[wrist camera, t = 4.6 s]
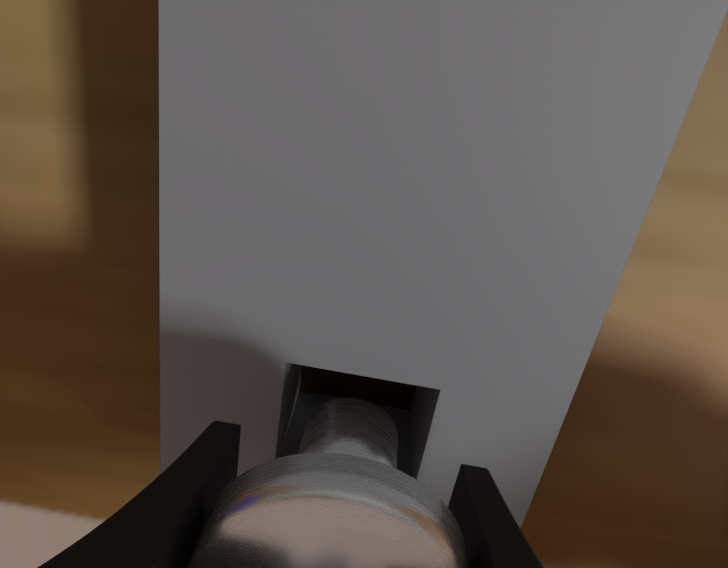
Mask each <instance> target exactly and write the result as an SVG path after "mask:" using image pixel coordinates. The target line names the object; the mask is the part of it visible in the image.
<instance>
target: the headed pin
mask: <svg viewBox="0 0 728 568" xmlns="http://www.w3.org/2000/svg"><path fill="white" fill-rule="evenodd" d="M397 443H398V435H397V429H396V426H395V424H394V422H393V420H392V418H391V417H390V416H389V415H388V414H387V413H386V412H385V411H384V410H383V409H382V408H380V407H379V406H377V405H375V404H374V403H371V402H369V401H366V400H363V399H358V398H338V399H334V400H330V401H328V402H325V403H323V404H322V405H320V406H319V407H317V408H316V409H315V410H314V411H313V412H312V413H311V415H310V416H309V418H308V420H307V423H306V426H305V430H304V433H303V437H302V441H301V445H300V449H299V452H298V454H295V455H289V456H284V457H280V458H276V459H273V460H270V461H267V462H264V463H262V464H259V465H257V466H255V467H253V468H251V469H249V470H247V471H245V472H244V473H242V474H241V475H240V476H238V477H237V478H235V479H234V480H233V481H232V482H231V483H230V484H228V485H227V486H226V487H225V488H224V489H223V491H222V492H221V493H220V495H219V496H218V497H217V499H216V500H215V502H214V504H213V506H212V508H211V510H210V513H209V515H208V518H207V520H206V522H205V525H204V527H203V530H202V532H201V534H200V537H199V539H198V542H197V544H196V546H195V549H194V551H193V554H192V556H191V559H190V561H189V563H188V566H187V568H467V561H466V551H465V545H464V540H463V535H462V533H461V530H460V528H459V525H458V523H457V521H456V519H455V518H454V516H453V514H452V513H451V511H450V510H449V509H448V507H447V506H446V505H445V504H444V503H443V501H442V500H441V499H440V498H439V497H438V496H437V495H436V494H434V493H433V492H432V491H431V490H430V489H429V488H428V487H426V486H425V485H423V484H422V483H421V482H419V481H418V480H416V479H415V478H413V477H411V476H409V475H408V474H406V473H404V472H402V471H400V470H398V469H397Z"/></svg>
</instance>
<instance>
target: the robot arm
mask: <svg viewBox="0 0 728 568" xmlns="http://www.w3.org/2000/svg"><path fill="white" fill-rule="evenodd" d="M240 432H241V425H238V424H233V423H227V422H221V421H216V420H215V421H214V422H212V423H211V424H210V425H209V426H208V427H207V428H206V429H205V430H204V431H203V432H202V433H201V434H200V436H199V437H198V438H197V439H196V440H195V441H194V442H193V443H192V444H191V445H190V446H189V447H188V448H187V449H186V450H185V451H184V452H183V453H182V454H181V455H180V456H179V457H178V458H177V459H176V460H175V461H174V462H173V463H172V464H171V465H170V466H169V467H168V468H166V469H165V470H164V471H163V472H162V473H161V474H160V475H159V476H158V477H157V478H156V479H155V480H154V481H153V482H151V483H150V484H149V485H148V486H147V487H146V488H145V489H143V490H142V491H141V492H140V493H139V494H138V495H136V496H135V497H134V498H133V499H132V500H130V501H129V502H128V503H127V504H126V505H124V506H123V507H122V508H121V509H120V510H118V511H117V512H116V513H115V514H113V515H112V516H111V517H110V518H108V519H107V520H106V521H104V522H103V523H102V524H100V525H99V526H98V527H96V528H95V529H94V530H92V531H91V532H90V533H88V534H87V535H85V536H84V537H83V538H81V539H80V540H78V541H77V542H76V543H74V544H73V545H71V546H70V547H68V548H67V549H65V550H64V551H62V552H61V553H59V554H58V555H56V556H55V557H53V558H52V559H50V560H49V561H47V562H46V563H44V564H42V565H41V566H39V567H38V568H187V566H188V563H189V561H190V559H191V556H192V554H193V551H194V549H195V546H196V544H197V542H198V539H199V537H200V534H201V532H202V530H203V527H204V525H205V522H206V520H207V518H208V515H209V513H210V510H211V508H212V506H213V504H214V502H215V500H216V499H217V497H218V496H219V495H220V493H221V492H222V491H223V489H224V488H225V487H226V486H227V485H228V484H230V483H231V482H232V481H233V480H234V479H235V478H237V471H238V458H239V445H240ZM448 509H449V510H450V511H451V513H452V514H453V516H454V518H455V519H456V521H457V523H458V525H459V528H460V530H461V533H462V535H463V540H464V545H465V551H466V561H467V568H544V567H543V566H542V564H541V563H540V561H539V560H538V558H537V556H536V555H535V553H534V551H533V550H532V548H531V546H530V545H529V543H528V541H527V540H526V538H525V536H524V535H523V533H522V531H521V529H520V528H519V526H518V524H517V522H516V521H515V519H514V517H513V515H512V513H511V512H510V510H509V508H508V506H507V504H506V502H505V500H504V499H503V497H502V495H501V493H500V491H499V489H498V487H497V485H496V483H495V481H494V479H493V477H492V475H491V473H490V472H489V470H488V469H487V468H483V467H477V466H471V465H466V464H461V466H460V469H459V472H458V476H457V479H456V482H455V485H454V489H453V492H452V495H451V498H450V501H449V505H448Z"/></svg>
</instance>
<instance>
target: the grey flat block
mask: <svg viewBox="0 0 728 568" xmlns="http://www.w3.org/2000/svg"><path fill="white" fill-rule="evenodd" d="M727 10H728V0H159V272H160V474H161V473H162V472H163V471H164V470H165V469H166V468H168V467H169V466H170V465H171V464H172V463H173V462H174V461H175V460H176V459H177V458H178V457H179V456H180V455H181V454H182V453H183V452H184V451H185V450H186V449H187V448H188V447H189V446H190V445H191V444H192V443H193V442H194V441H195V440H196V439H197V438H198V437H199V436H200V434H201V433H202V432H203V431H204V430H205V429H206V428H207V427H208V426H209V425H210V424H211V423H212V422H214V421H215V420H216V421H221V422H227V423H233V424H238V425H241V432H240V445H239V458H238V471H237V477H238V476H240V475H241V474H242V473H244V472H245V471H247V470H249V469H251V468H253V467H255V466H257V465H259V464H262V463H264V462H267V461H270V460H273V459H276V458H280V457H284V456H289V455H295V454H298V452H299V449H300V445H301V441H302V437H303V433H304V430H305V426H306V423H307V420H308V418H309V416H310V415H311V413H312V412H313V411H314V410H315V409H316V408H317V407H319V406H320V405H322V404H323V403H325V402H328V401H330V400H334V399H338V397H333V396H327V395H321V394H316V393H310V392H304V391H299V390H300V382H301V374H302V367H303V366H309V367H315V368H320V369H326V370H332V371H337V372H343V373H349V374H354V375H360V376H365V377H371V378H377V379H382V380H388V381H394V382H399V383H405V384H411V385H416V389H415V393H414V397H413V401H412V405H411V409H410V410H406V409H401V408H395V407H389V406H384V405H378V404H375V405H377V406H379V407H380V408H382V409H383V410H384V411H385V412H386V413H387V414H388V415H389V416H390V417H391V418H392V420H393V422H394V424H395V426H396V429H397V435H398V443H397V469H398V470H400V471H402V472H404V473H406V474H408V475H409V476H411V477H413V478H415V479H416V480H418V481H419V482H421V483H422V484H423V485H425V486H426V487H428V488H429V489H430V490H431V491H432V492H433V493H434V494H436V495H437V496H438V497H439V498H440V499H441V500H442V501H443V503H444V504H445V505H446V506H447V507H448V505H449V501H450V498H451V495H452V492H453V489H454V485H455V482H456V479H457V476H458V472H459V469H460V466H461V464H466V465H471V466H477V467H483V468H487V469H488V470H489V472H490V473H491V475H492V477H493V479H494V481H495V483H496V485H497V487H498V489H499V491H500V493H501V495H502V497H503V499H504V500H505V502H506V504H507V506H508V508H509V510H510V512H511V513H512V515H513V517H514V519H515V521H516V522H517V524H518V526H519V528H520V529H521V526H522V524H523V521H524V519H525V516H526V514H527V511H528V509H529V506H530V504H531V501H532V499H533V496H534V494H535V491H536V489H537V486H538V484H539V481H540V479H541V476H542V474H543V471H544V469H545V466H546V464H547V461H548V459H549V456H550V454H551V451H552V449H553V446H554V444H555V441H556V439H557V436H558V434H559V431H560V428H561V426H562V423H563V421H564V418H565V416H566V413H567V411H568V408H569V406H570V403H571V401H572V398H573V396H574V393H575V391H576V388H577V386H578V383H579V381H580V378H581V376H582V373H583V371H584V368H585V366H586V363H587V361H588V358H589V356H590V353H591V351H592V348H593V346H594V343H595V341H596V338H597V336H598V333H599V331H600V328H601V326H602V323H603V321H604V318H605V316H606V313H607V311H608V308H609V306H610V303H611V301H612V298H613V296H614V293H615V291H616V288H617V286H618V283H619V280H620V278H621V275H622V273H623V270H624V268H625V265H626V263H627V260H628V258H629V255H630V253H631V250H632V248H633V245H634V243H635V240H636V238H637V235H638V233H639V230H640V228H641V225H642V223H643V220H644V218H645V215H646V213H647V210H648V208H649V205H650V203H651V200H652V198H653V195H654V193H655V190H656V188H657V185H658V183H659V180H660V178H661V175H662V173H663V170H664V168H665V165H666V163H667V160H668V158H669V155H670V153H671V150H672V148H673V145H674V143H675V140H676V138H677V135H678V133H679V130H680V127H681V125H682V122H683V120H684V117H685V115H686V112H687V110H688V107H689V105H690V102H691V100H692V97H693V95H694V92H695V90H696V87H697V85H698V82H699V80H700V77H701V75H702V72H703V70H704V67H705V65H706V62H707V60H708V57H709V55H710V52H711V50H712V47H713V45H714V42H715V40H716V37H717V35H718V32H719V30H720V27H721V25H722V22H723V20H724V17H725V15H726V12H727Z"/></svg>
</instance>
